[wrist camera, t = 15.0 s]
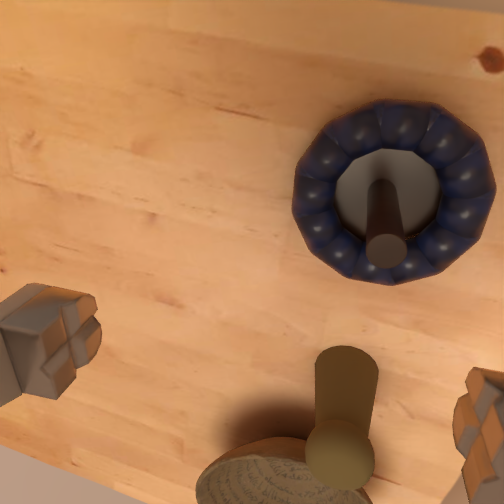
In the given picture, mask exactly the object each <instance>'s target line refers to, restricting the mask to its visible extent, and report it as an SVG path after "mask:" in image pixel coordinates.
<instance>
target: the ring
mask: <svg viewBox="0 0 504 504" xmlns="http://www.w3.org/2000/svg"><path fill="white" fill-rule="evenodd" d="M382 148H383V149H393V150H403V151H412V152H414V153H415V154H416V155H418V156H419V157H420V158H421V159H423V160H424V161H425V162H427V163H428V164H429V165H431V166H432V167H433V168H435V171H436V174H437V177H438V180H439V183H440V186H441V189H442V192H443V194H442V197H441V201H440V204H439V208H438V211H437V215H436V218H435V219H434V220H433V221H432V222H431V223H430V224H429V225H428V226H427V227H426V228H425V229H423V230H422V231H421V232H420V233H419V234H418V235H417V236H416V237H414V238H411V239H408V240H406V245H407V255H406V258H405V259H404V261H403V262H402V263H401V264H399V265H398V266H396V267H393V268H379V267H377V266H375V265H373V264H372V263H371V262H370V261H369V260H368V258H367V256H366V242H364V241H361V240H360V239H359V238H357V237H356V236H355V235H353V234H352V233H351V232H349V231H348V230H346V229H345V228H344V227H342V224H341V222H340V220H339V217H338V215H337V213H336V210H335V208H334V206H333V203H334V197H335V190H336V184H337V180H338V179H339V178H340V177H341V175H342V174H343V173H344V172H345V171H346V169H347V168H348V167H349V166H350V164H351V163H352V162H353V161H354V160H355V159H357V158H360V157H362V156H365V155H367V154H370V153H372V152H374V151H377V150H379V149H382ZM495 195H496V182H495V179H494V175H493V172H492V168H491V165H490V161H489V158H488V154H487V151H486V147H485V144H484V141H483V139H482V138H481V137H480V135H479V134H477V133H476V132H475V131H474V130H472V129H471V128H470V127H468V126H467V125H466V124H464V123H463V122H462V121H461V120H459V119H458V118H457V117H455V116H454V115H453V114H451V113H450V112H449V111H447V110H446V109H445V108H443V107H442V106H440V105H439V104H436V103H431V102H420V101H406V100H393V99H378V100H374V101H372V102H370V103H367V104H365V105H363V106H361V107H359V108H357V109H355V110H353V111H350V112H348V113H346V114H344V115H342V116H340V117H338V118H336V119H334V120H332V121H330V122H328V123H327V124H326V125H325V126H324V127H323V128H322V130H321V131H320V132H319V134H318V135H317V137H316V138H315V139H314V141H313V142H312V143H311V145H310V146H309V148H308V149H307V150H306V152H305V153H304V155H303V156H302V157H301V159H300V160H299V162H298V163H297V166H296V170H295V179H294V189H293V199H292V214H293V217H294V219H295V221H296V223H297V225H298V228H299V230H300V232H301V234H302V236H303V238H304V240H305V242H306V245H307V247H308V249H309V250H310V252H311V253H312V254H313V255H315V256H316V257H317V258H319V259H320V260H322V261H323V262H324V263H326V264H327V265H328V266H330V267H331V268H333V269H334V270H335V271H337V272H338V273H339V274H341V275H342V276H344V277H346V278H349V279H353V280H359V281H364V282H370V283H376V284H381V285H387V286H395V285H399V284H403V283H407V282H411V281H414V280H418V279H422V278H426V277H430V276H433V275H437V274H439V273H441V272H442V271H444V270H445V269H446V268H447V267H449V266H450V265H451V264H452V263H453V262H454V261H456V260H457V259H458V258H459V257H460V256H461V255H463V254H464V253H465V252H466V251H467V250H468V249H470V248H471V247H472V246H473V245H474V244H475V243H476V242H477V241H478V240H479V239H480V237H481V235H482V232H483V229H484V226H485V224H486V221H487V218H488V215H489V212H490V209H491V207H492V204H493V201H494V198H495Z"/></svg>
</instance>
